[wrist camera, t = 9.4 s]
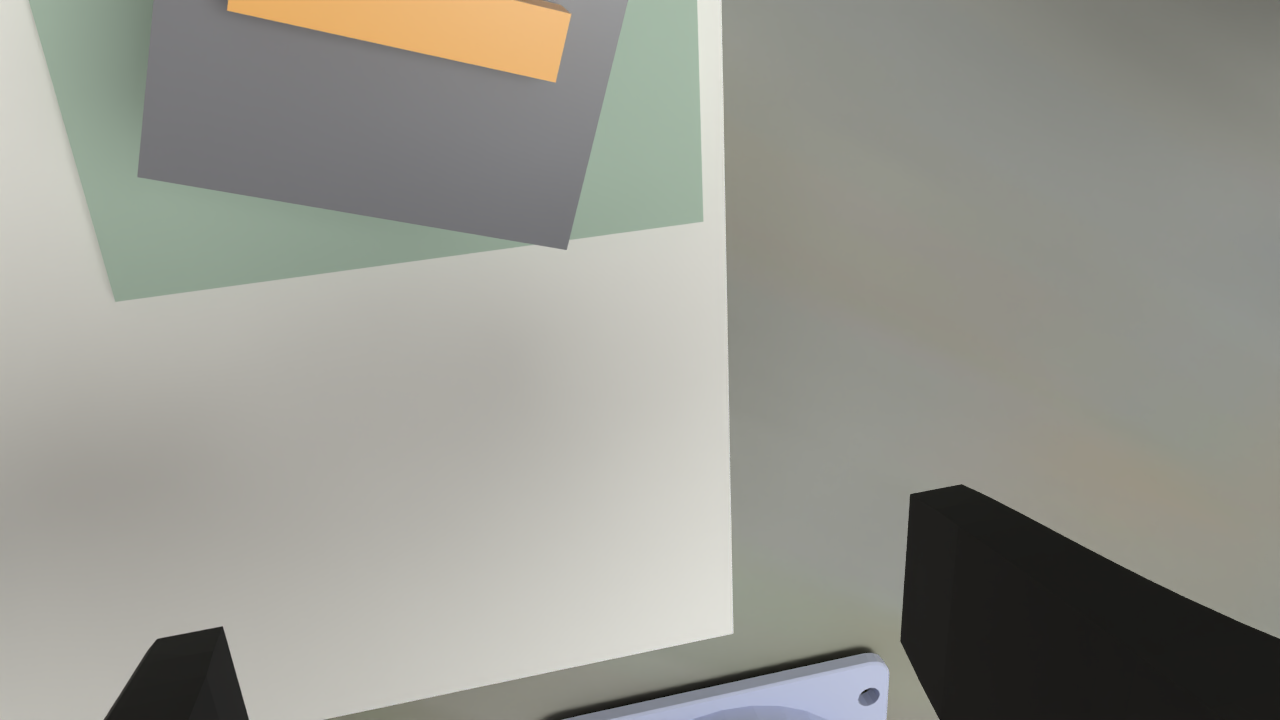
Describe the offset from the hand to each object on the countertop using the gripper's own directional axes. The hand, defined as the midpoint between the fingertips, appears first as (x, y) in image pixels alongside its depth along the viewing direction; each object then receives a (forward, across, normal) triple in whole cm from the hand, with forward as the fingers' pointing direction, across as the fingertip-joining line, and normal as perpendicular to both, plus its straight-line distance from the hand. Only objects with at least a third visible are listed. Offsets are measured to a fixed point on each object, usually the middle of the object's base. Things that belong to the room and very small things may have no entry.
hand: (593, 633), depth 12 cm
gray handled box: (+8, +1, -6) cm, 10 cm away
